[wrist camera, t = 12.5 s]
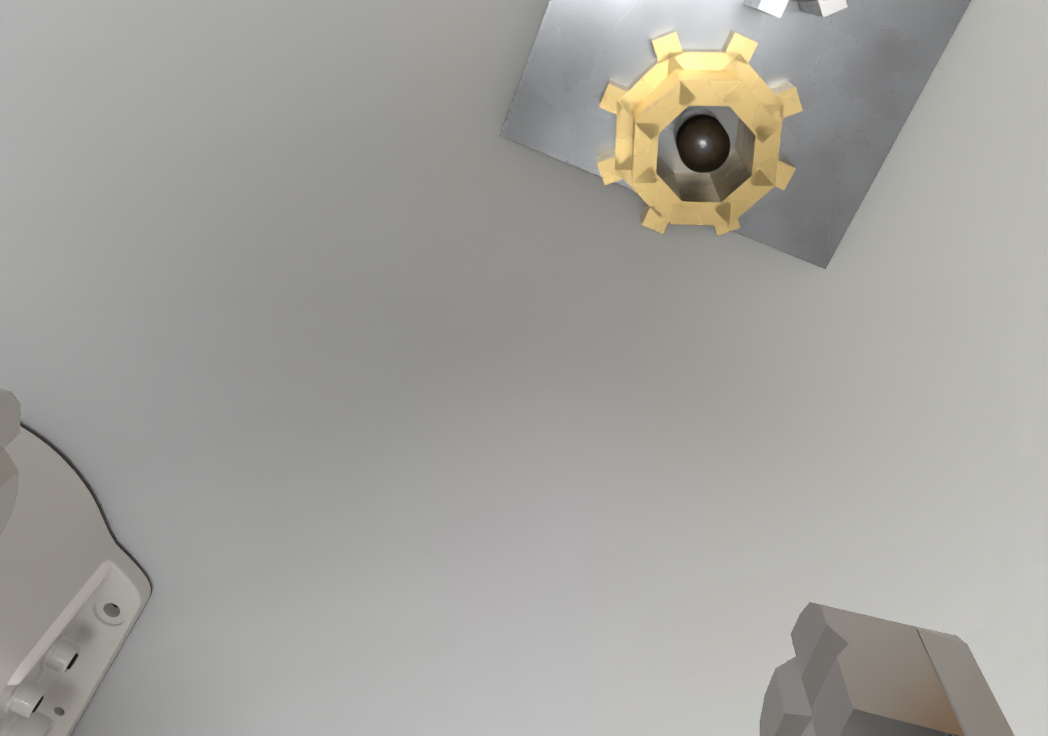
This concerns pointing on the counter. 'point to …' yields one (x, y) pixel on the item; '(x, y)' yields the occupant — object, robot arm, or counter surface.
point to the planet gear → (670, 93)
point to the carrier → (710, 131)
